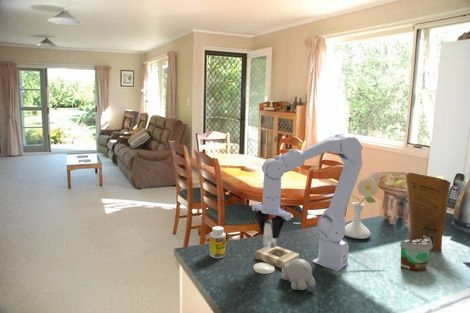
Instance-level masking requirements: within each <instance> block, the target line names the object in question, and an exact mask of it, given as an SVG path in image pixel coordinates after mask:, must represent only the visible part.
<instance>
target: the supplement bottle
mask: <svg viewBox="0 0 470 313" xmlns="http://www.w3.org/2000/svg"><path fill="white" fill-rule="evenodd" d="M211 231H212V232H210V233H209V256H210V257H211V258H213V259H222V258H224V257H225V256H226V243H227V242H226V241H227V239H226V237H227V236H226V233H225V232H224V231H225V230H224V227H223V226H219V225H216V226H213V227H212V229H211Z"/></svg>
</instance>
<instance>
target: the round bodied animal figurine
mask: <svg viewBox="0 0 470 313" xmlns="http://www.w3.org/2000/svg"><path fill="white" fill-rule="evenodd" d="M282 266H283V268H281V278H282V280H285V281H288V280H290V281H291V283H290V287H291V290H295V291H297V290H299V291H303V290H307V288H308V287H309V288H311V287H315V286H316V280H315V278H314V277H313V268H312V266H311V264H310V262H308V261H307V260H305V259H303V258H299V259H295V260H293V261H291V262H290V263H289V264H287V265H285V264H283V263H282Z"/></svg>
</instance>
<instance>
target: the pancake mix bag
mask: <svg viewBox="0 0 470 313" xmlns="http://www.w3.org/2000/svg"><path fill="white" fill-rule="evenodd" d="M405 182H406V188H407V201H408V211H409V212H408V213H409V225H410V232H409V237H408V241H410V240H412V239H421V238H423V235H424V236H427V237H428V238H430V239H431V242H432V246H433V247H432V249H431V250H430V251H431V252H435V253H443V251H442V250H443V249H442V246H443V245H442V244H443V234H444V228H445V223H446V222H445V221H446V217H447V209H448V201H449V198H450V197H449V196H450V188H451V184H452V183H451V181H449V180H447V179H444V178H439V177H436V176H430V175H423V174H419V173H414V172H411V171H409V172H408V173H405ZM430 251H429V252H430Z"/></svg>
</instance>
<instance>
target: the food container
mask: <svg viewBox="0 0 470 313" xmlns="http://www.w3.org/2000/svg"><path fill="white" fill-rule="evenodd" d="M399 247H400V269H402V270H405V271H407V272H413V273H422V272H425V271H426V269H427V266H428V260H429V255H430V250H431V249H432V247H433V246H432V242H431V239H430V238H428V237H427V236H424V235H423V238H421V239H412V240H408V241H405V240H401V241H400V243H399Z"/></svg>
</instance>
